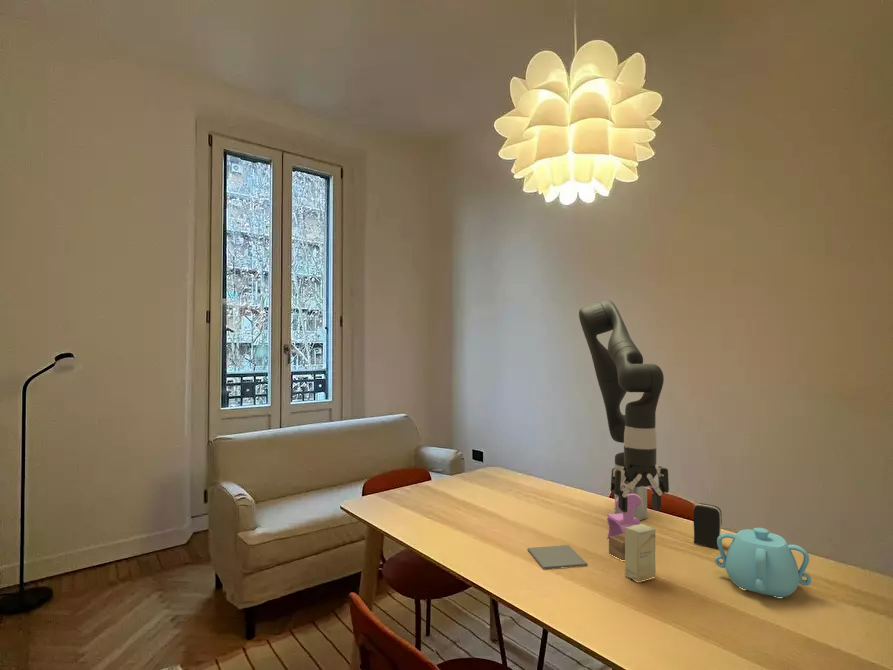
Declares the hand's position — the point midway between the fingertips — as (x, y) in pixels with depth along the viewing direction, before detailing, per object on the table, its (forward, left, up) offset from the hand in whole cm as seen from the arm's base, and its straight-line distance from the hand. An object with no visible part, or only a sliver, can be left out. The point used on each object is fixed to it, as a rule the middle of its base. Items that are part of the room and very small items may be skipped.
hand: (639, 510), depth 126 cm
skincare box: (0, 0, -17) cm, 17 cm away
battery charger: (-30, -15, -17) cm, 38 cm away
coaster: (+16, -14, -16) cm, 27 cm away
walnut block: (-2, -12, -17) cm, 20 cm away
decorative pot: (-26, +9, -17) cm, 32 cm away
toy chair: (-7, -20, -17) cm, 27 cm away
